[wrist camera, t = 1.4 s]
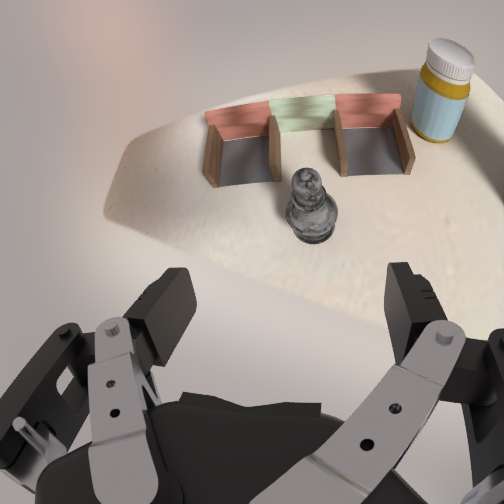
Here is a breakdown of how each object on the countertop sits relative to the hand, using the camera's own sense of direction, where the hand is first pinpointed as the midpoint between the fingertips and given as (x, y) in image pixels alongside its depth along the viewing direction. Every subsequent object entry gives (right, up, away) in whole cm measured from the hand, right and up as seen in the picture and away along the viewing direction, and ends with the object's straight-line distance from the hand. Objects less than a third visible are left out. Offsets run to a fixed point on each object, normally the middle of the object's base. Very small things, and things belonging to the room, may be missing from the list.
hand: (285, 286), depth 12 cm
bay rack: (+7, +15, +28) cm, 33 cm away
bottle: (+26, +20, +25) cm, 41 cm away
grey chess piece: (+6, +5, +25) cm, 26 cm away
